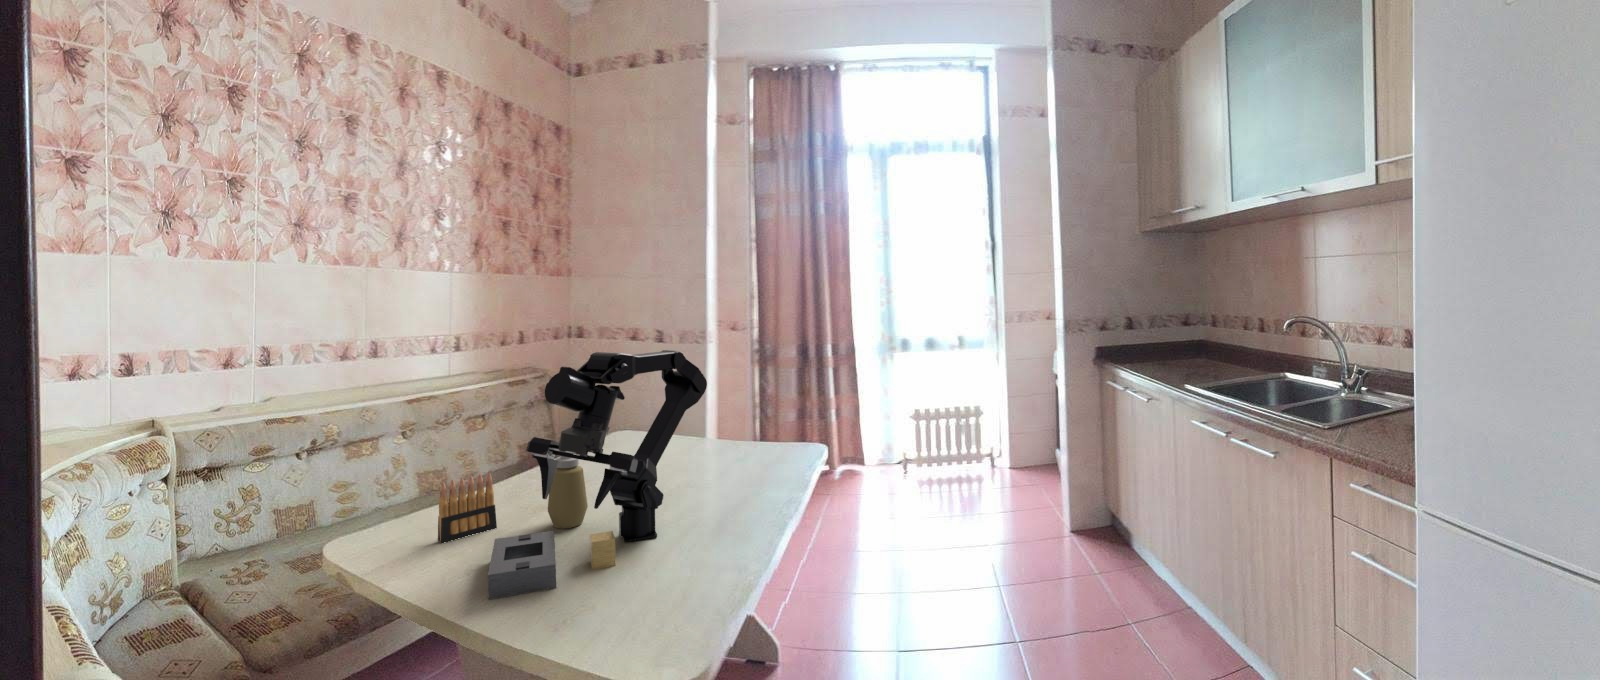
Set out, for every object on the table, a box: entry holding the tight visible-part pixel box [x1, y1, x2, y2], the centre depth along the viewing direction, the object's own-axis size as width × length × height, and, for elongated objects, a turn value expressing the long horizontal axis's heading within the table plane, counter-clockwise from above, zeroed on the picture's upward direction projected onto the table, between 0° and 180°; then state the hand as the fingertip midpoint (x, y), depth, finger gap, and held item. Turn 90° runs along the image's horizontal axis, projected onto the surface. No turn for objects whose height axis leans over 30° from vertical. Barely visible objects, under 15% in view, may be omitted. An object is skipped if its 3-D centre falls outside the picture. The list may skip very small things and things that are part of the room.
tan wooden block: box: [589, 530, 616, 570], centre depth 108 cm, size 4×4×5 cm
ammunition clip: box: [437, 472, 498, 544], centre depth 121 cm, size 11×2×12 cm, turn 141°
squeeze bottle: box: [547, 456, 589, 529], centre depth 126 cm, size 8×8×18 cm
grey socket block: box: [487, 530, 557, 601], centre depth 104 cm, size 10×16×4 cm, turn 24°
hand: (570, 503), depth 105 cm, fingers open, 9 cm apart
